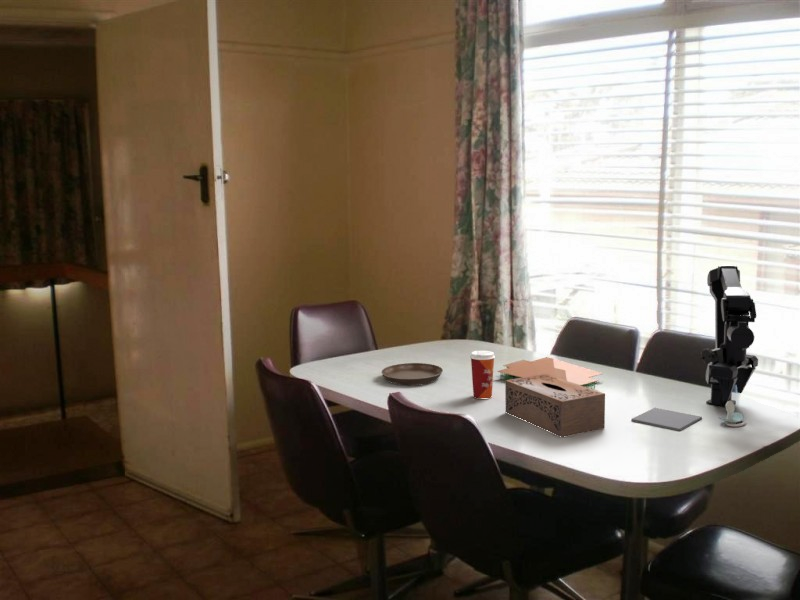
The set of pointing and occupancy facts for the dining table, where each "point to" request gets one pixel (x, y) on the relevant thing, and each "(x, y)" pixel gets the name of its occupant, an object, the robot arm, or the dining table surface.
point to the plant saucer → (412, 373)
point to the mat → (666, 419)
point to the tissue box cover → (555, 404)
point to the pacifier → (730, 419)
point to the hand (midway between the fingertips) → (732, 396)
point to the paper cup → (482, 373)
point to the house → (551, 370)
